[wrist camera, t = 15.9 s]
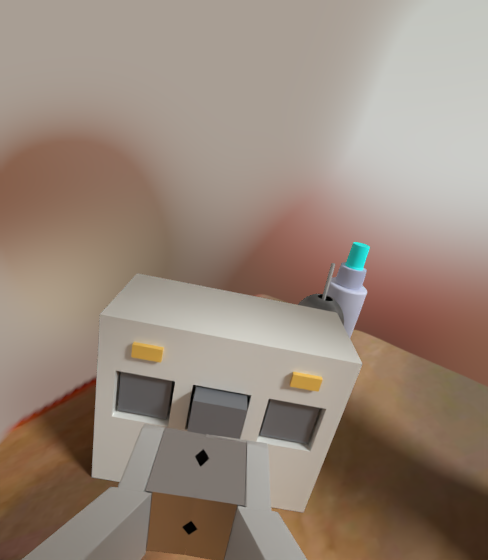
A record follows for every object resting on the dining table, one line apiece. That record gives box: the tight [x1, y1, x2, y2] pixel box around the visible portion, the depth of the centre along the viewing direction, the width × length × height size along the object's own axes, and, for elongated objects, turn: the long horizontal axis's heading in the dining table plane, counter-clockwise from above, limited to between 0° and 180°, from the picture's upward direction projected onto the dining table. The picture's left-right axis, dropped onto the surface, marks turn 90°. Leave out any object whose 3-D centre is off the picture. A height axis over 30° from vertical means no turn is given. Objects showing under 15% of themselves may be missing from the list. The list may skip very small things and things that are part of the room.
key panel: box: [92, 273, 362, 512], centre depth 34 cm, size 21×9×18 cm, turn 88°
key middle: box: [187, 385, 247, 439], centre depth 30 cm, size 4×4×4 cm
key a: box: [118, 372, 175, 419], centre depth 31 cm, size 4×4×4 cm
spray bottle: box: [327, 242, 370, 338], centre depth 54 cm, size 6×6×22 cm
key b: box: [260, 399, 320, 444], centre depth 32 cm, size 4×4×4 cm
